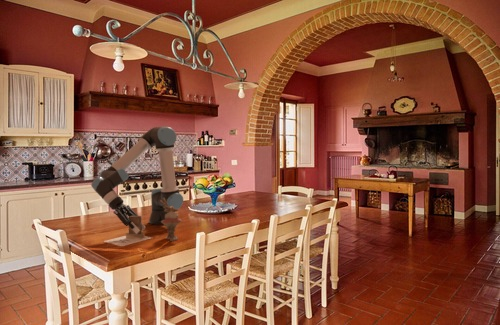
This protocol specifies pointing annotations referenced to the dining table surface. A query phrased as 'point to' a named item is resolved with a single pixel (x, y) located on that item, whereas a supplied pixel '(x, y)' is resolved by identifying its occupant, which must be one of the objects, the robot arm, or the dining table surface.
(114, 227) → the dining table surface
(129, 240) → the marked board
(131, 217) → the block
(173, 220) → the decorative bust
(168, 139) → the robot arm
